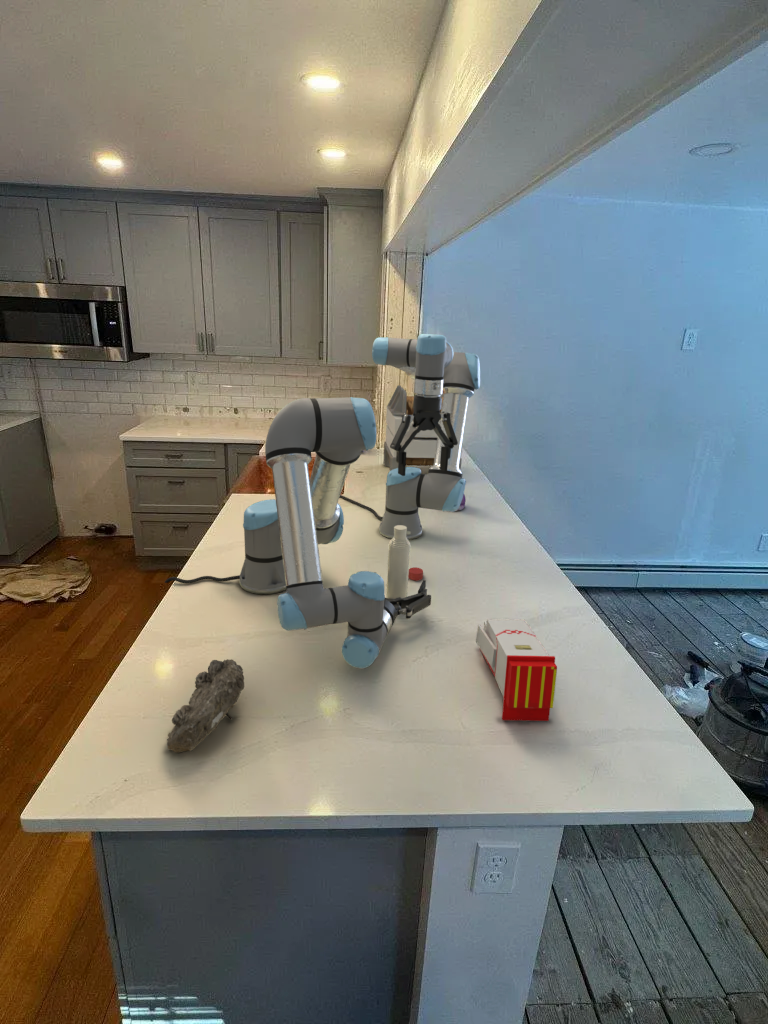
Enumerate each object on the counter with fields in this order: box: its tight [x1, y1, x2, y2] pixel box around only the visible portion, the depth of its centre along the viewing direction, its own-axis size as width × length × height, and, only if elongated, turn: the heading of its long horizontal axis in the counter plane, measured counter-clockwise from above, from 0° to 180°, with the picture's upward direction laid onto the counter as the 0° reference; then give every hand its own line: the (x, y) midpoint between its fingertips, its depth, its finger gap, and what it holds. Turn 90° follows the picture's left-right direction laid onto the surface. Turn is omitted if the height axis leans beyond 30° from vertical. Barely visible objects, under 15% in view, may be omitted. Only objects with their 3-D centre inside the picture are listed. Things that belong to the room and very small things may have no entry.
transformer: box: [383, 384, 464, 472], centre depth 268 cm, size 34×33×41 cm
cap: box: [408, 566, 424, 582], centre depth 168 cm, size 4×4×2 cm
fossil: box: [166, 658, 245, 754], centre depth 106 cm, size 22×10×15 cm
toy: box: [475, 618, 558, 722], centre depth 122 cm, size 12×13×30 cm
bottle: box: [385, 525, 411, 603], centre depth 148 cm, size 6×6×22 cm
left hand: (399, 580), depth 151 cm, fingers open, 13 cm apart
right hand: (422, 472), depth 158 cm, fingers open, 13 cm apart
